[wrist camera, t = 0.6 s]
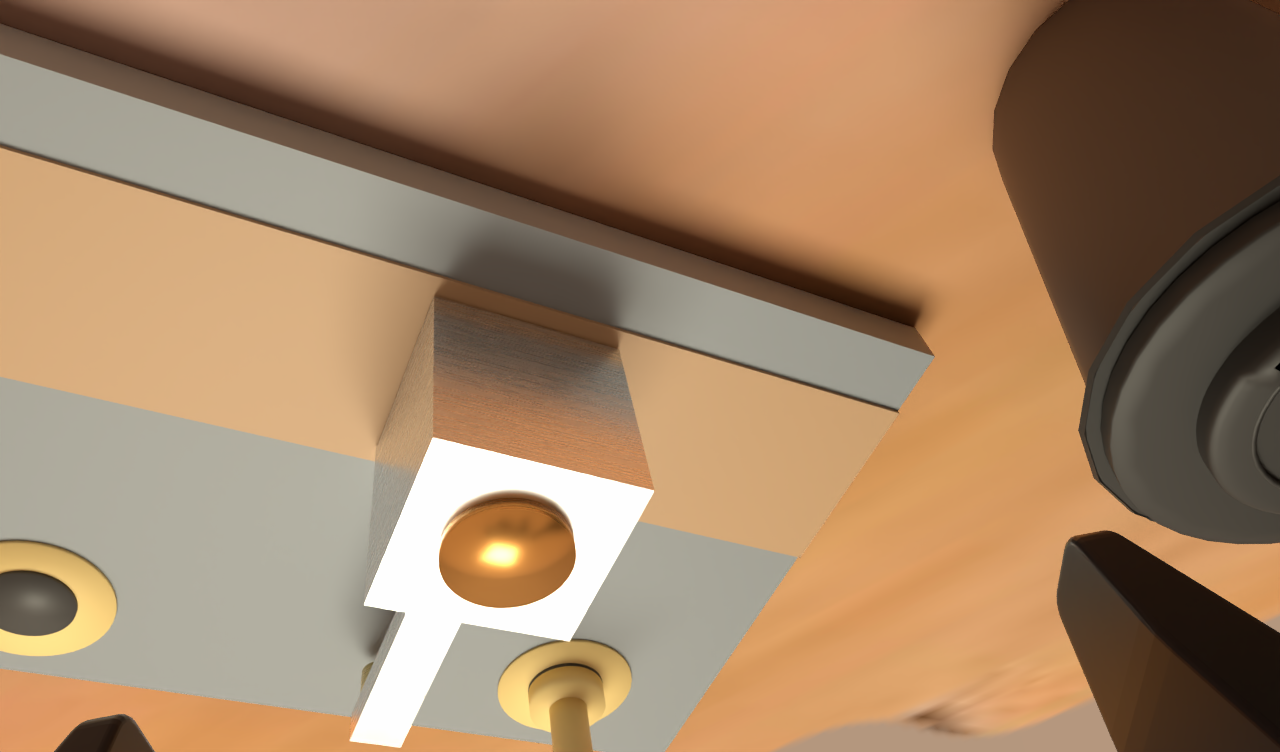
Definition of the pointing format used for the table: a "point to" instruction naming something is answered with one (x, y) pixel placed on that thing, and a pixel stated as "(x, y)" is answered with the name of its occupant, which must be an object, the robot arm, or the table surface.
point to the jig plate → (365, 410)
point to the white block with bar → (493, 496)
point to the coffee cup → (1161, 245)
